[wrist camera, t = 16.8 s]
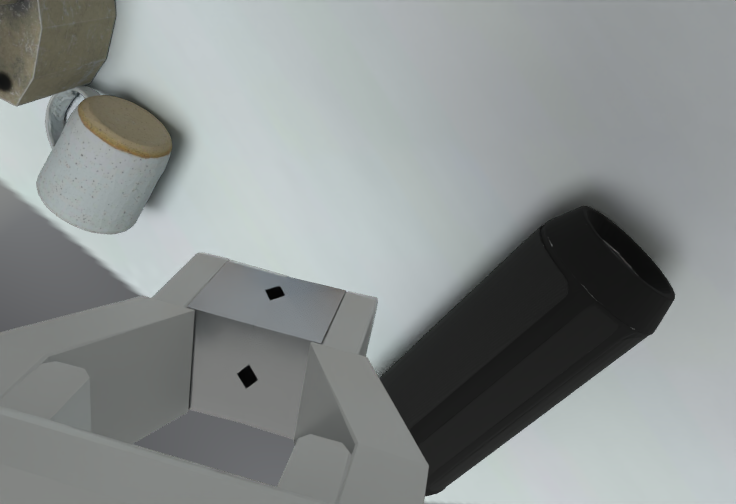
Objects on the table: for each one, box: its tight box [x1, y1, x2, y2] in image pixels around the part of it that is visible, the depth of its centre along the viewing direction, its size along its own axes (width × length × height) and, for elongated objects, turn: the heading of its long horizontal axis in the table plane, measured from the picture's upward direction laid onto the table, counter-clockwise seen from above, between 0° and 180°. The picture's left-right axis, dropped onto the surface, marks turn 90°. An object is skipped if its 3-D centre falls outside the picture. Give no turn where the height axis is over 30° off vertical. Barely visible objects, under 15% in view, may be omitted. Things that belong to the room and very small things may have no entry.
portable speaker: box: [379, 206, 675, 496], centre depth 46 cm, size 26×10×10 cm, turn 143°
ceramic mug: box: [36, 85, 172, 234], centre depth 46 cm, size 11×8×8 cm
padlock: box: [0, 0, 116, 106], centre depth 39 cm, size 4×8×15 cm, turn 155°
